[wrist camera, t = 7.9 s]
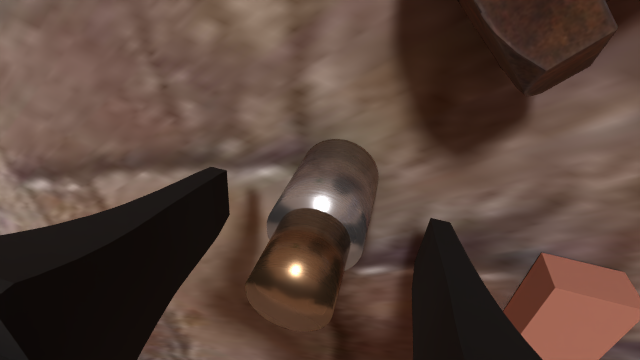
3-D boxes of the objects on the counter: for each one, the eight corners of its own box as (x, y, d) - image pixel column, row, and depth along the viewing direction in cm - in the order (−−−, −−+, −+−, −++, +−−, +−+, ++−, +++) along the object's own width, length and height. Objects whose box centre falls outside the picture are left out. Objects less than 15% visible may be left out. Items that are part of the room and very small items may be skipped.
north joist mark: (624, 272, 13) (648, 311, 12) (560, 344, 16) (574, 382, 15) (541, 252, 14) (555, 287, 12) (493, 325, 17) (500, 361, 15)
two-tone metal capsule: (385, 148, 13) (357, 277, 8) (370, 213, 15) (339, 353, 10) (305, 131, 14) (228, 242, 8) (300, 196, 15) (233, 320, 10)
